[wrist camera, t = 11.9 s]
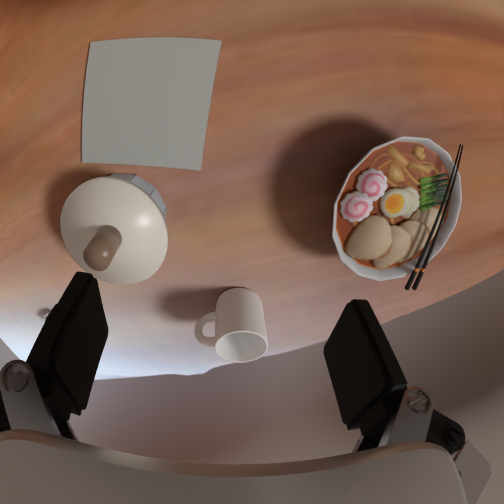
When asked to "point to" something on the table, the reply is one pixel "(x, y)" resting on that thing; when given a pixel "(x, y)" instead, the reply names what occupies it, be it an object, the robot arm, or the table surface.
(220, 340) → the mug
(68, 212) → the lid
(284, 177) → the table surface
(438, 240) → the ramen bowl
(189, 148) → the mat
